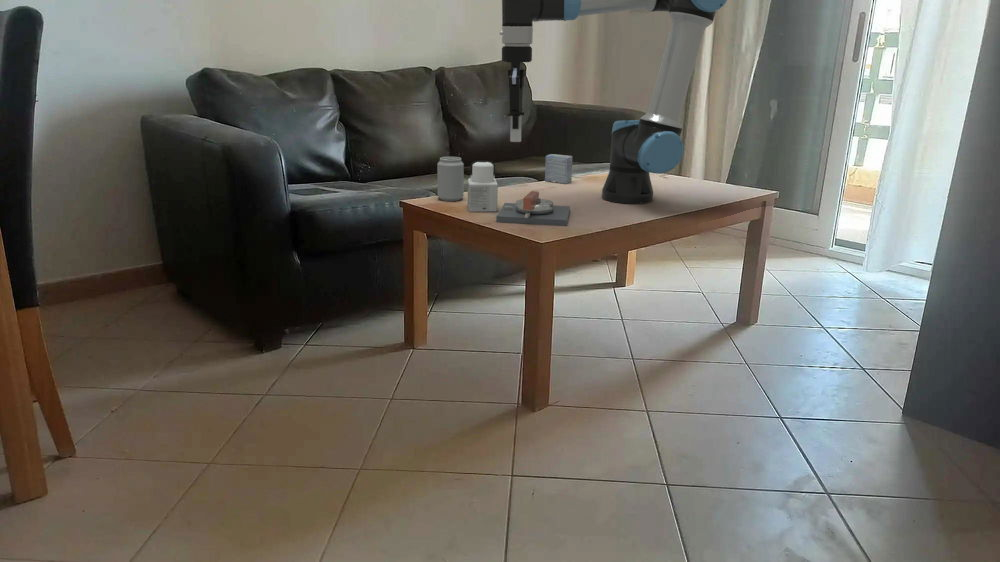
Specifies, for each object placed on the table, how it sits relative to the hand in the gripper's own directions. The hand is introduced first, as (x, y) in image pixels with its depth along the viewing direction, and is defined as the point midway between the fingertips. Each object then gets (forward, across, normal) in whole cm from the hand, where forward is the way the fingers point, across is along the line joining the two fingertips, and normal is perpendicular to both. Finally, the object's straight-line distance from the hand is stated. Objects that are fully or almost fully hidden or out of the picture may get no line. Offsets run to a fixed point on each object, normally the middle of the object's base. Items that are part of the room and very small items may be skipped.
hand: (515, 141), depth 186 cm
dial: (+18, +3, +5) cm, 19 cm away
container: (+20, -5, -10) cm, 22 cm away
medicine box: (+20, -49, +9) cm, 54 cm away
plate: (+20, +1, +5) cm, 20 cm away
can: (+20, -16, -20) cm, 32 cm away
